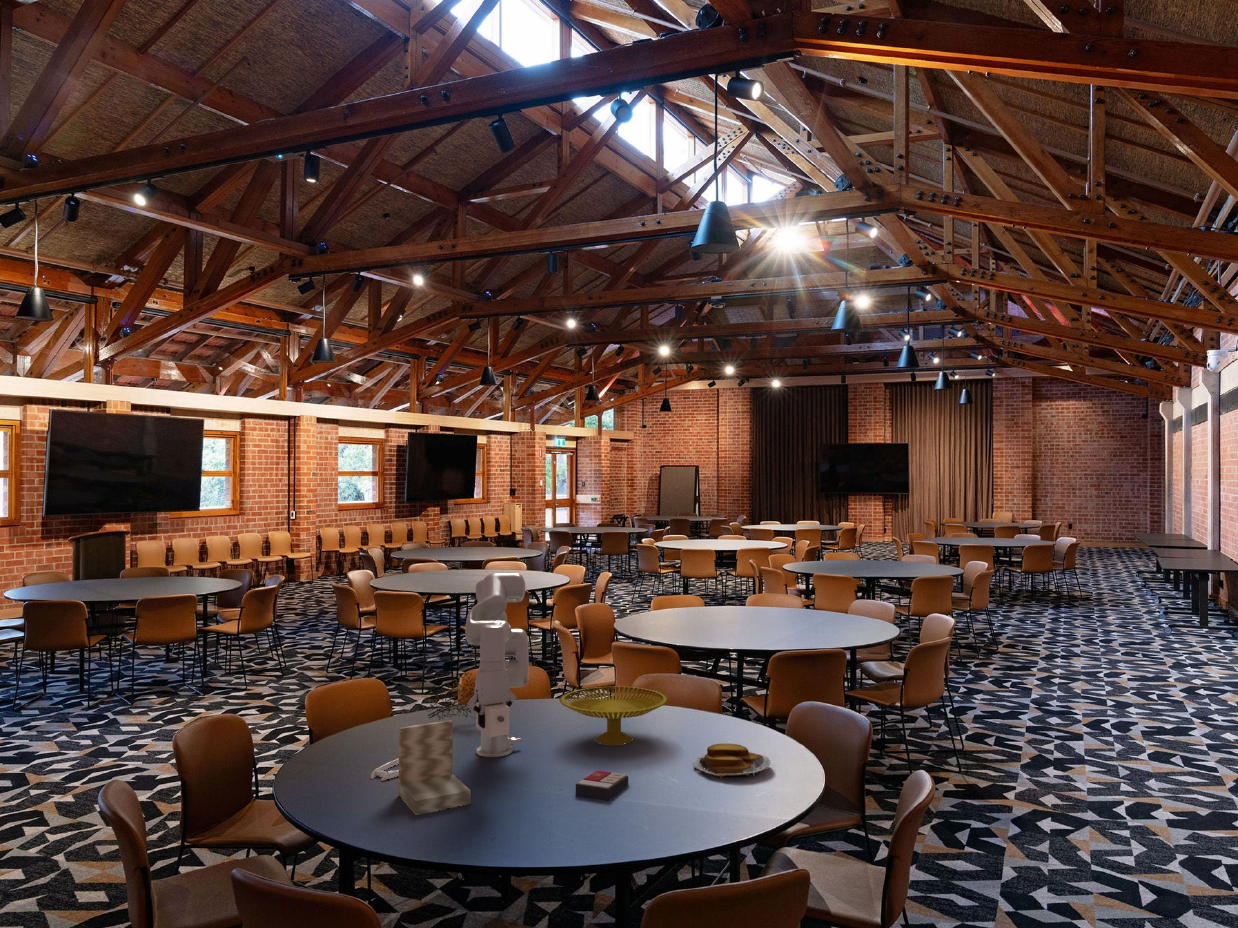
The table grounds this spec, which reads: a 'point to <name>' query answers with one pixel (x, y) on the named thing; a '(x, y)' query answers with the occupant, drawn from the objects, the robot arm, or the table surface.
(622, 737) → the yellow pedestal fruit bowl
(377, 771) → the door handle
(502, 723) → the pale taupe block
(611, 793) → the small patterned box
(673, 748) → the table surface
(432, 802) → the beige zigzag bookend
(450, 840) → the table surface
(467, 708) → the dried plant
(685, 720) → the table surface
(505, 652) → the robot arm
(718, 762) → the food on plate
